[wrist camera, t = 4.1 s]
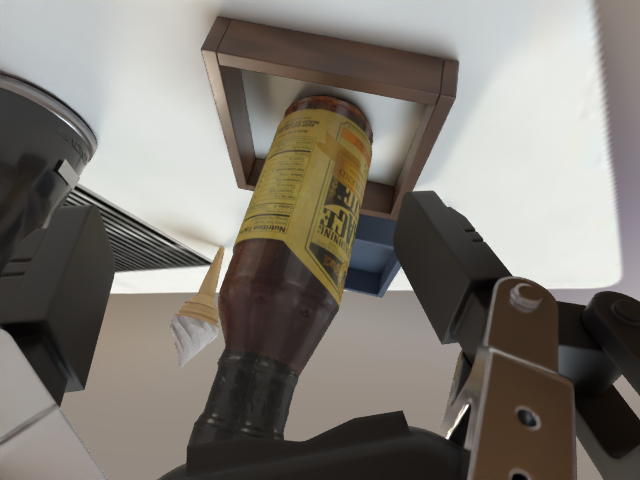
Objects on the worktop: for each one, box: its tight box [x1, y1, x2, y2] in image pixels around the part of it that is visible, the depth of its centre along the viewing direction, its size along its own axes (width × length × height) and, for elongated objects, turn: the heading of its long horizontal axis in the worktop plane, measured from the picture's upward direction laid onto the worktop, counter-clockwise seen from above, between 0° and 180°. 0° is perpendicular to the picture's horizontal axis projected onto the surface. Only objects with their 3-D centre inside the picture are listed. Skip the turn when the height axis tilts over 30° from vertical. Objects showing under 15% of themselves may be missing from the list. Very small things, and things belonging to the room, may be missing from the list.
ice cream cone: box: [170, 247, 224, 369], centre depth 47 cm, size 6×6×15 cm
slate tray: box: [344, 214, 401, 298], centre depth 40 cm, size 12×13×3 cm
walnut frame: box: [201, 17, 459, 221], centre depth 25 cm, size 13×13×2 cm
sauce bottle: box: [188, 96, 373, 446], centre depth 22 cm, size 7×6×20 cm
